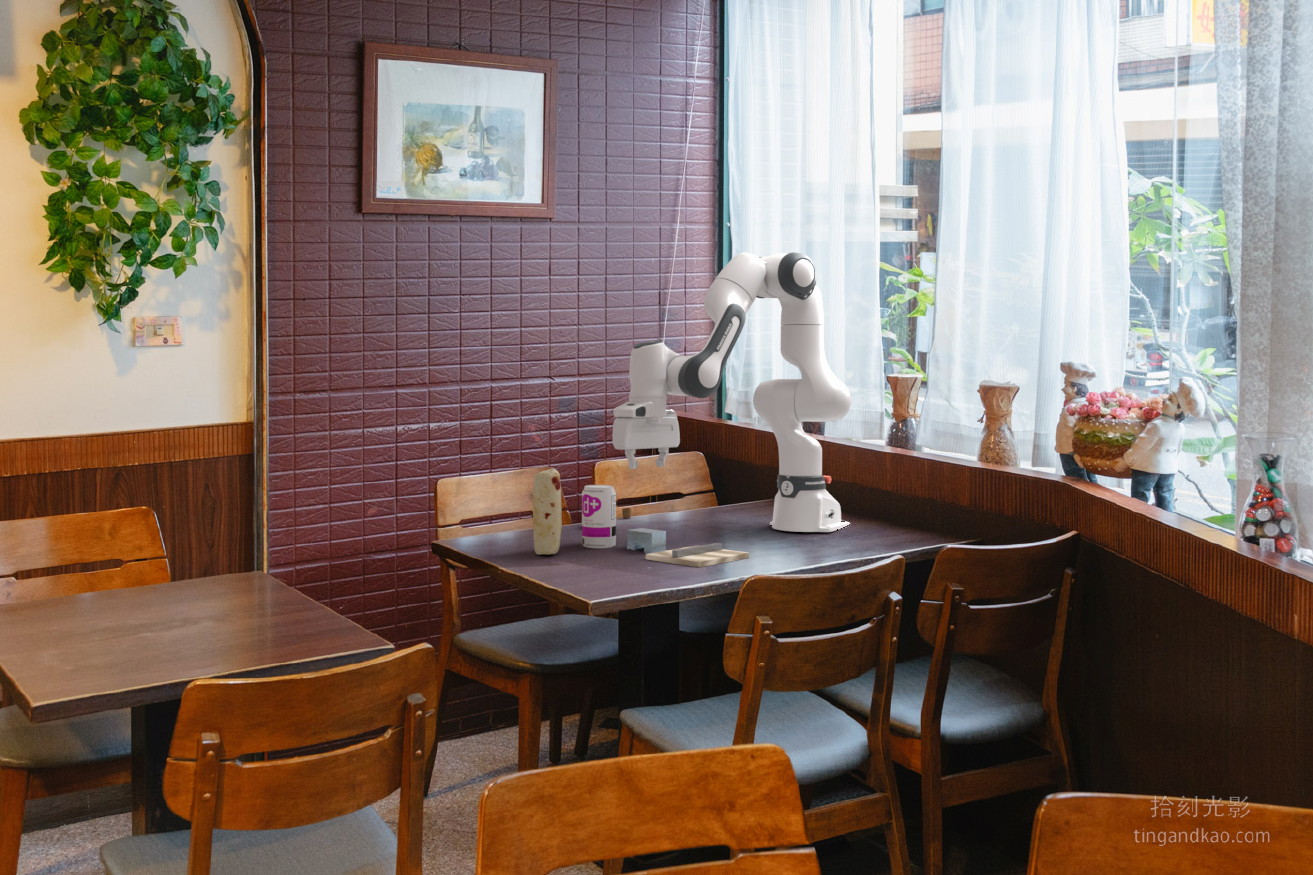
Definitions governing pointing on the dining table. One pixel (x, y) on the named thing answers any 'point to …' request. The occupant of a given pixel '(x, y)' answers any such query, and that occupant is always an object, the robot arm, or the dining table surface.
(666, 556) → the rail base
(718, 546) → the guide rail
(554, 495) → the food model
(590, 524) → the supplement can
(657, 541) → the saddle block
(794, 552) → the dining table surface
